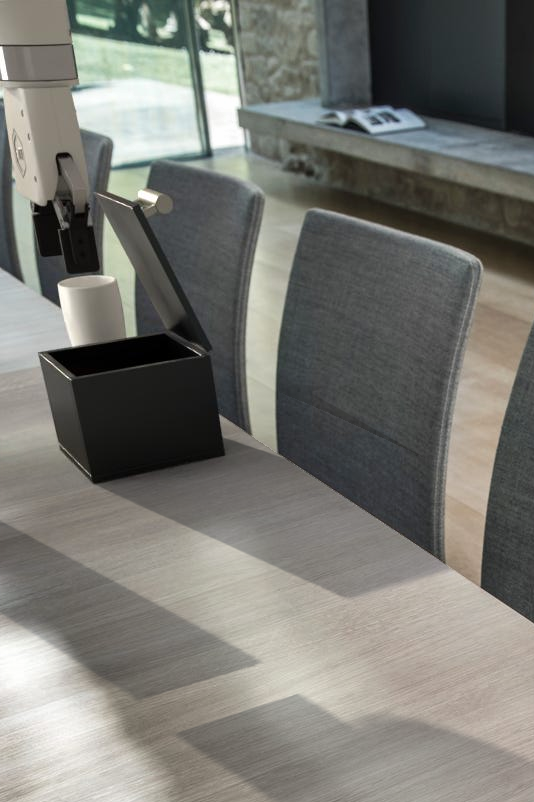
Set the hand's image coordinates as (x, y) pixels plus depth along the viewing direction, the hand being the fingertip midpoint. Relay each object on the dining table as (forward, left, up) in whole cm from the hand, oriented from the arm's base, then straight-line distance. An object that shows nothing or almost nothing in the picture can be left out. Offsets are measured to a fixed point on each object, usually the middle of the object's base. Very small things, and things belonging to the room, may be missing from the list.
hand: (69, 263), depth 115 cm
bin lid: (+8, -1, -2) cm, 8 cm away
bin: (+4, -1, -20) cm, 21 cm away
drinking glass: (+5, +16, -20) cm, 27 cm away
